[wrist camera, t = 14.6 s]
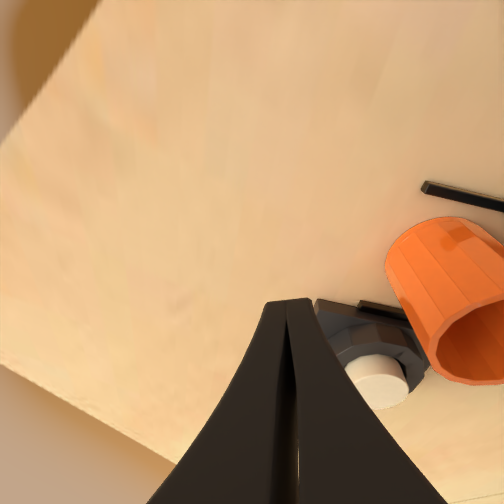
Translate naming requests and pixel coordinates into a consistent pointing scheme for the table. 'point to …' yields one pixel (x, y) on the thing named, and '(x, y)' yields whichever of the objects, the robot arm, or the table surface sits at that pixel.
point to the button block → (372, 338)
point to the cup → (453, 296)
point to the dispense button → (378, 380)
